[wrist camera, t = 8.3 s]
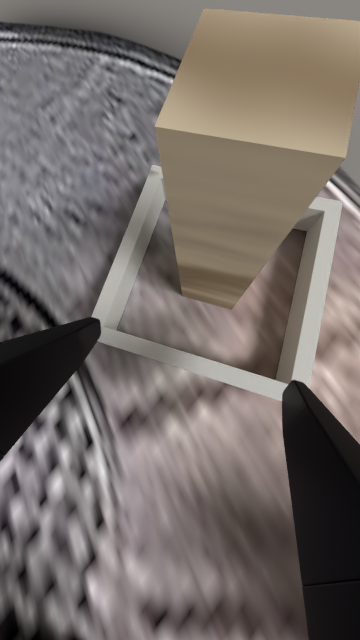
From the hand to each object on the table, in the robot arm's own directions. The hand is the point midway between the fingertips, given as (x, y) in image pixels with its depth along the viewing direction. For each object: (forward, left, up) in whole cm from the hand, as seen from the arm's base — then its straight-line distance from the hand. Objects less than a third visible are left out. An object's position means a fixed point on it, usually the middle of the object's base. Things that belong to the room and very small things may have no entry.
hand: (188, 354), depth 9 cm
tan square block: (+7, +2, -8) cm, 11 cm away
